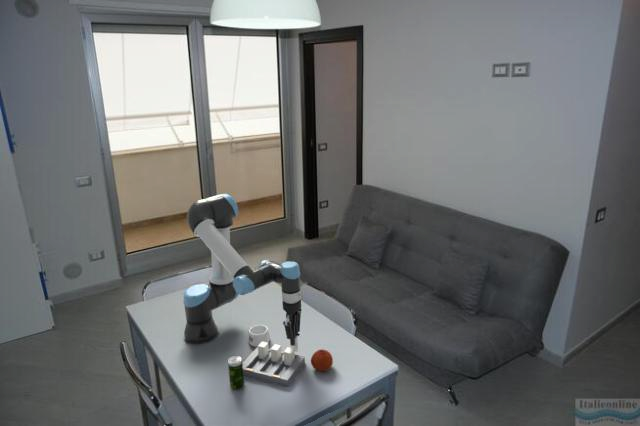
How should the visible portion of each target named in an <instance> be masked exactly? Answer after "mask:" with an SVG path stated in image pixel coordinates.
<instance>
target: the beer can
mask: <svg viewBox="0 0 640 426" xmlns="http://www.w3.org/2000/svg"><path fill="white" fill-rule="evenodd" d="M227 366H228V367H227V368H228V376H229V377H228V378H229V386H230V388H231V390H232V391H235V392H236V391H241V390H243V389H244V387H245V379H244V378H245V376H244V374H243V359H242V357H241V356H238V355H234V356H231V357H229V358H228V362H227Z"/></svg>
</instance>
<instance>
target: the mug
mask: <svg viewBox="0 0 640 426" xmlns="http://www.w3.org/2000/svg"><path fill="white" fill-rule="evenodd" d="M247 339H248V340H247V342H248V344H249V345H250V346H252V347H255V348H257V347H258V345H259V344H260V343H261V342H262V341H263V342H267V343H268V344H269V343H270V340H271V337H270V331H269V328H268V326H267V325H263V324H255V325H253V326H250V327H249V328H248V337H247Z"/></svg>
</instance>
